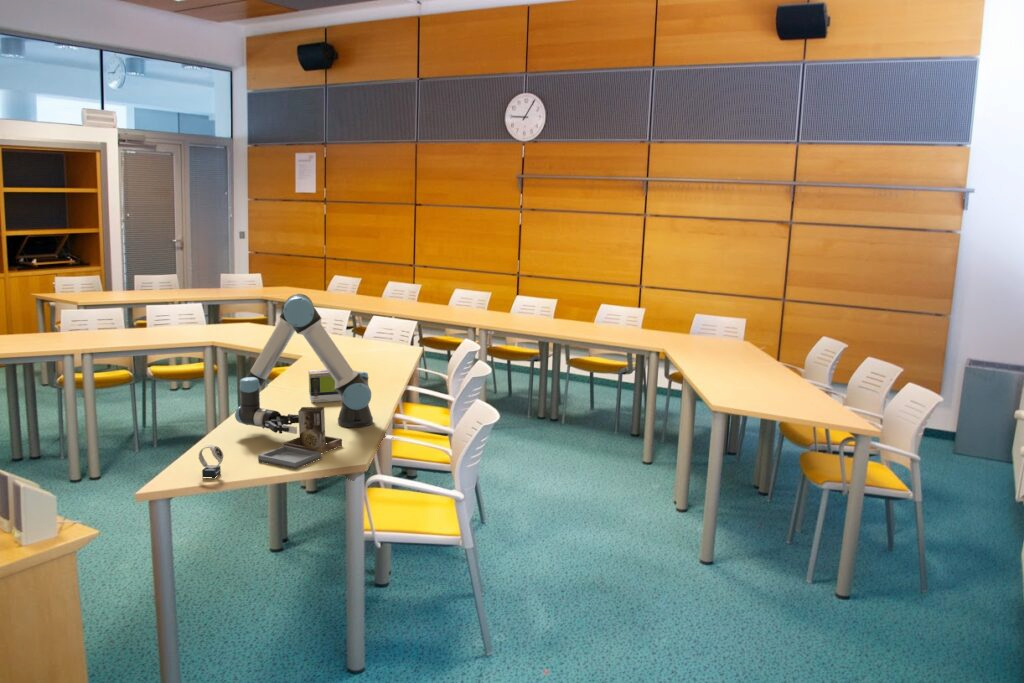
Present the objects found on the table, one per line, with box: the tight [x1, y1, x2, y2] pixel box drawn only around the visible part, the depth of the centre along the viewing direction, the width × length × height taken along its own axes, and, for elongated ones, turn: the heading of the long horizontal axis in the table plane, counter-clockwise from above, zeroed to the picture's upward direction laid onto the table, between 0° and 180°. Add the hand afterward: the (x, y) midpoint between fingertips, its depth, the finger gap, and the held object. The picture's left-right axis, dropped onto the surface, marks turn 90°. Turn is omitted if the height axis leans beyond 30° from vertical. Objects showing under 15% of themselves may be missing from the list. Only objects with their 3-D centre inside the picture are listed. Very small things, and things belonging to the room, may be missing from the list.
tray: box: [257, 445, 322, 470], centre depth 297 cm, size 14×18×2 cm
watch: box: [198, 444, 224, 478], centre depth 277 cm, size 6×8×11 cm
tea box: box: [308, 368, 342, 403], centre depth 390 cm, size 15×10×15 cm, turn 108°
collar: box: [282, 435, 343, 454], centre depth 312 cm, size 16×16×3 cm
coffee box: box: [297, 406, 326, 448], centre depth 311 cm, size 9×6×16 cm
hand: (308, 426), depth 311 cm, fingers open, 13 cm apart
